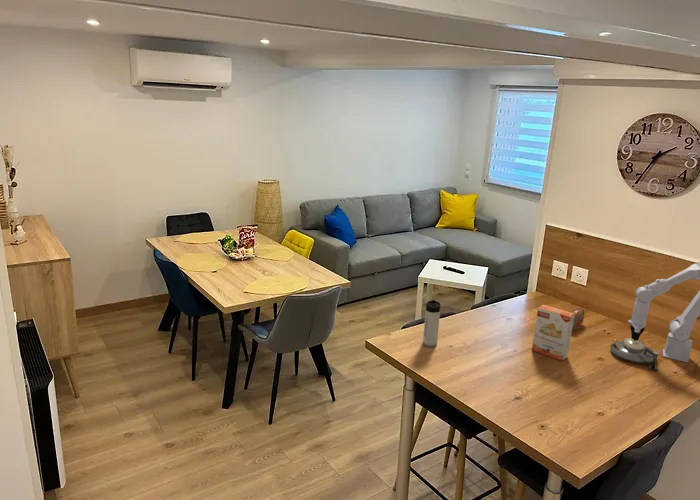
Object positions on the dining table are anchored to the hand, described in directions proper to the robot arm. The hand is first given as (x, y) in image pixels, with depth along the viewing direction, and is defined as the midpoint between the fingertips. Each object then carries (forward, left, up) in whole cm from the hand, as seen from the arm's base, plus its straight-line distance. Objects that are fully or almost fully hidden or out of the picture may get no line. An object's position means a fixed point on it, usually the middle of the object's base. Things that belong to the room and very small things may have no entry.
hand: (634, 341), depth 237 cm
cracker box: (+32, +26, -4) cm, 42 cm away
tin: (+26, -11, -4) cm, 28 cm away
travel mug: (+80, +46, -4) cm, 92 cm away
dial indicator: (-7, +15, -4) cm, 17 cm away
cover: (0, +5, -1) cm, 5 cm away
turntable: (0, +7, -3) cm, 8 cm away
